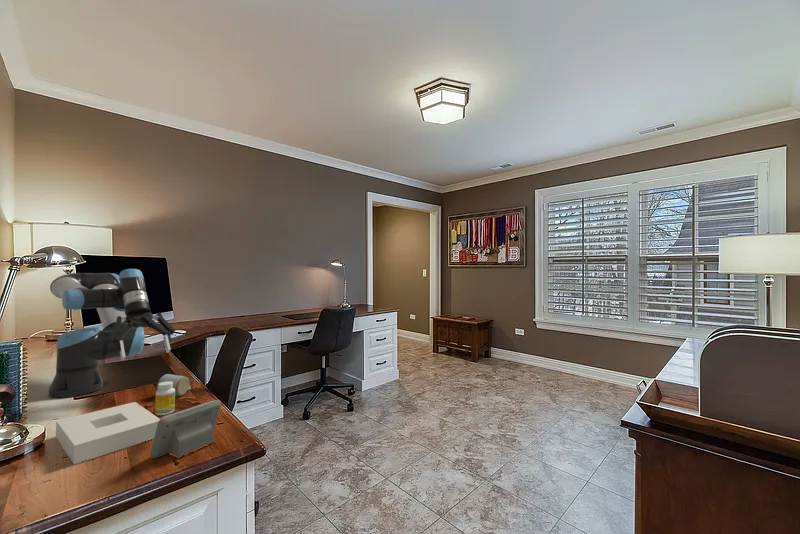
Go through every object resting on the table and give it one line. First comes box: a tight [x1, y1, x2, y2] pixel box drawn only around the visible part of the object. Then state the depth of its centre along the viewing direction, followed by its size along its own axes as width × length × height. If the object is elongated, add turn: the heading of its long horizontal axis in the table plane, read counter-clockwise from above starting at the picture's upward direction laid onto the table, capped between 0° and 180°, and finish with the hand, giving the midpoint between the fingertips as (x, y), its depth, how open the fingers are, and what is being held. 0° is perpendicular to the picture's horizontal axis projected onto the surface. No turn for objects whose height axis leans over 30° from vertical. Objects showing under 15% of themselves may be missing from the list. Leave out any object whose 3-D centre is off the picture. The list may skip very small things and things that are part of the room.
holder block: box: [55, 401, 161, 465], centre depth 95 cm, size 22×18×4 cm
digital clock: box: [149, 399, 222, 459], centre depth 90 cm, size 16×9×11 cm, turn 140°
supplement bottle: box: [154, 381, 176, 416], centre depth 112 cm, size 5×5×10 cm
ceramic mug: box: [156, 373, 192, 397], centre depth 129 cm, size 11×8×8 cm
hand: (146, 355), depth 124 cm, fingers open, 13 cm apart
